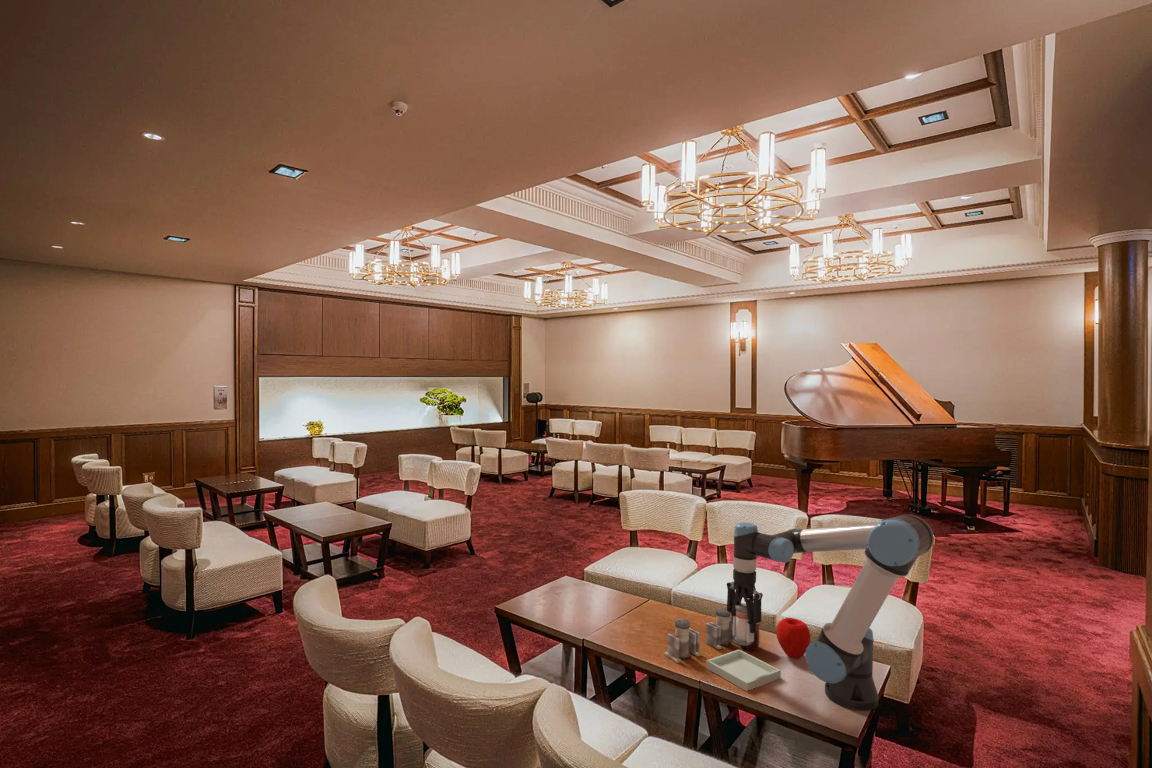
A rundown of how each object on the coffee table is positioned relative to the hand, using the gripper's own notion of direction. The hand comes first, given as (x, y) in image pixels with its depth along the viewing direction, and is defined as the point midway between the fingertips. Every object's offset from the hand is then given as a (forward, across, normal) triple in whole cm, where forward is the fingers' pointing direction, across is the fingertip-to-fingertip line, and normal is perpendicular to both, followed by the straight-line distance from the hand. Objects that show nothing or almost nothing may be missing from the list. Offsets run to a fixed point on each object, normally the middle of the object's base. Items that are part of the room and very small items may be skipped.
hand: (743, 638), depth 191 cm
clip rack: (+12, +20, -2) cm, 23 cm away
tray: (+12, 0, 0) cm, 12 cm away
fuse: (+1, 0, 0) cm, 1 cm away
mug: (+12, +11, -16) cm, 23 cm away
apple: (+12, -1, -26) cm, 28 cm away
